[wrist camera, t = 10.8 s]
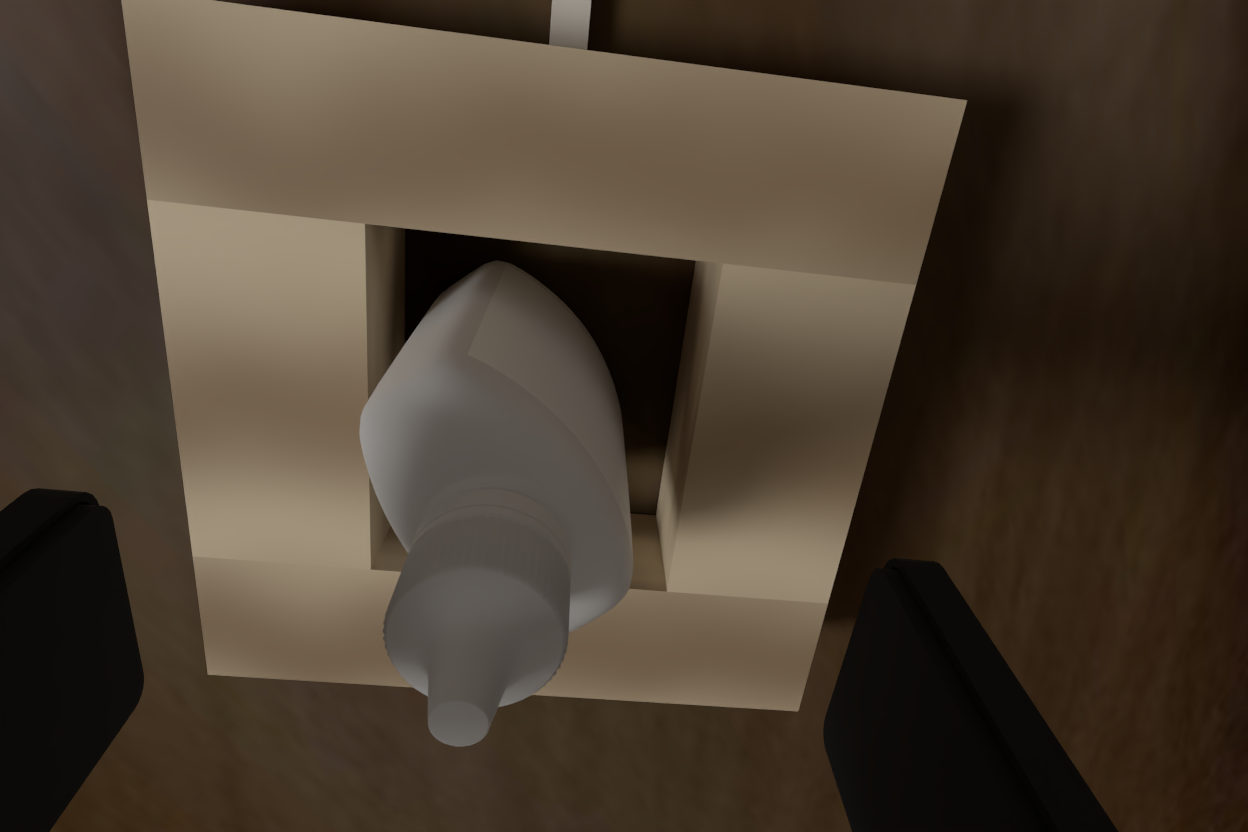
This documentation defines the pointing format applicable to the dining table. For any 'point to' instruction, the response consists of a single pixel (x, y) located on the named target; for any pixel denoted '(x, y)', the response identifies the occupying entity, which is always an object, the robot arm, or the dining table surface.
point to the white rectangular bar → (570, 23)
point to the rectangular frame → (540, 213)
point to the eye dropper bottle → (497, 495)
